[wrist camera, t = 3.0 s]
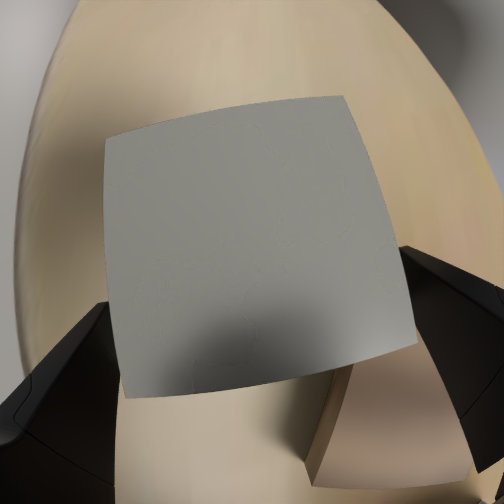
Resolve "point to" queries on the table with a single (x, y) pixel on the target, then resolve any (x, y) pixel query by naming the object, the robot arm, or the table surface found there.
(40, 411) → the robot arm
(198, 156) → the tea tin
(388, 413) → the plinth
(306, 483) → the table surface
